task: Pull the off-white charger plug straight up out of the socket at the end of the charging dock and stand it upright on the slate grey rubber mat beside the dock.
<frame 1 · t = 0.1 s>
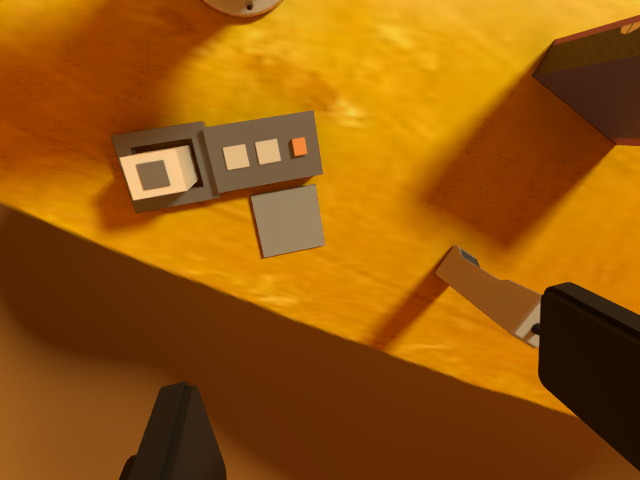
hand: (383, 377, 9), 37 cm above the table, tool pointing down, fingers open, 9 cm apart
vintage mobile phone: (451, 263, 52), on the table
charger plug: (172, 166, 41), resting in charging dock
rubber mat: (288, 220, 45), on the table
cereal box: (586, 95, 48), on the table
charging dock: (172, 166, 41), on the table
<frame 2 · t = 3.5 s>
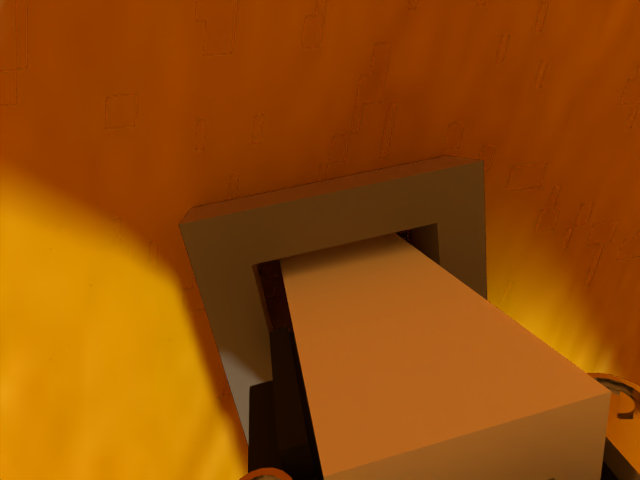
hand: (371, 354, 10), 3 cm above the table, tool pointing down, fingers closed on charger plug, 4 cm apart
charger plug: (347, 308, 13), resting in charging dock, touching gripper
charging dock: (346, 308, 13), on the table
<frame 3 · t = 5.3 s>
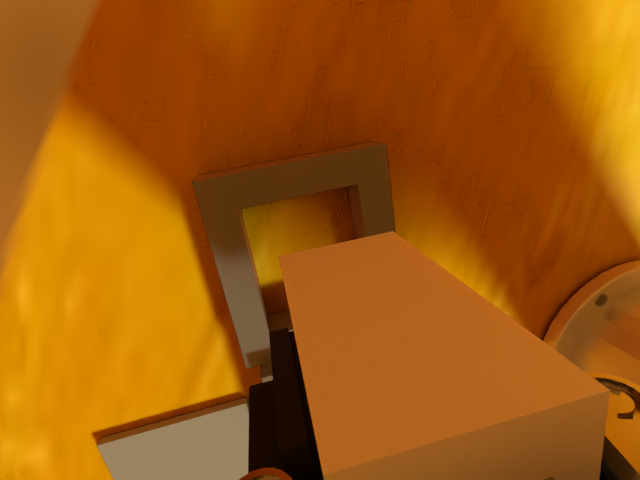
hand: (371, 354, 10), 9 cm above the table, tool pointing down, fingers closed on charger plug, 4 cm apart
charger plug: (347, 307, 13), point 6 cm above the table, touching gripper
rubber mat: (195, 468, 21), on the table
charging dock: (305, 249, 19), on the table
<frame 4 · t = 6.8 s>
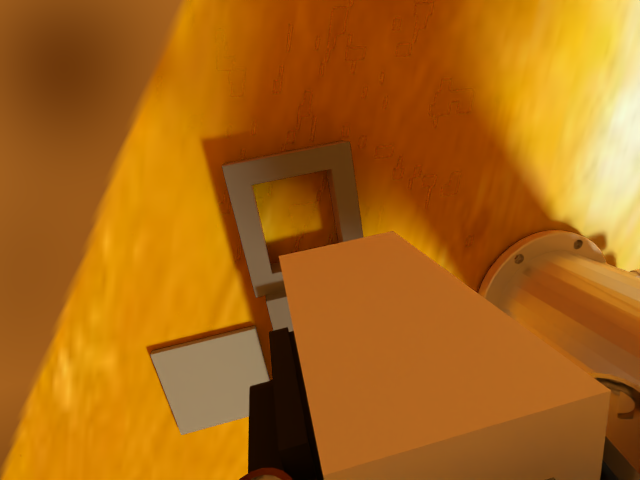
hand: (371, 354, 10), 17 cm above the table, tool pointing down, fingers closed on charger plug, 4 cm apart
charger plug: (347, 307, 13), point 14 cm above the table, touching gripper
rubber mat: (217, 379, 29), on the table
charging dock: (297, 216, 26), on the table
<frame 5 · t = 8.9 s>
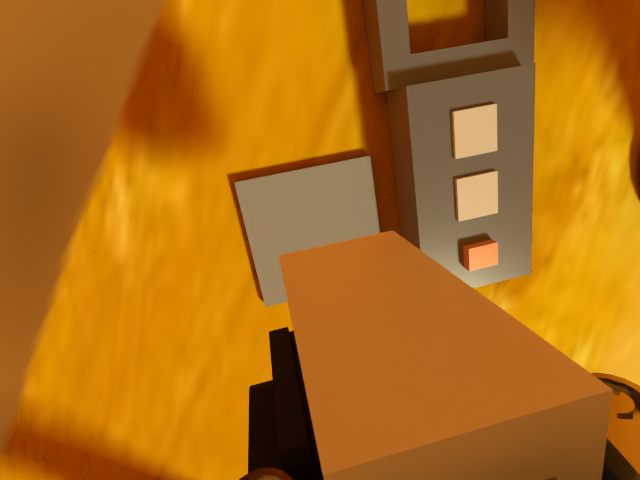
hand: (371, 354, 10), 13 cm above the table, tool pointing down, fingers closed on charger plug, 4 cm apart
charger plug: (347, 307, 13), point 10 cm above the table, touching gripper
rubber mat: (314, 232, 22), on the table
when the fingers open (5 cm above the table, at t = 10.5 s): charger plug drops 1 cm, resting on rubber mat.
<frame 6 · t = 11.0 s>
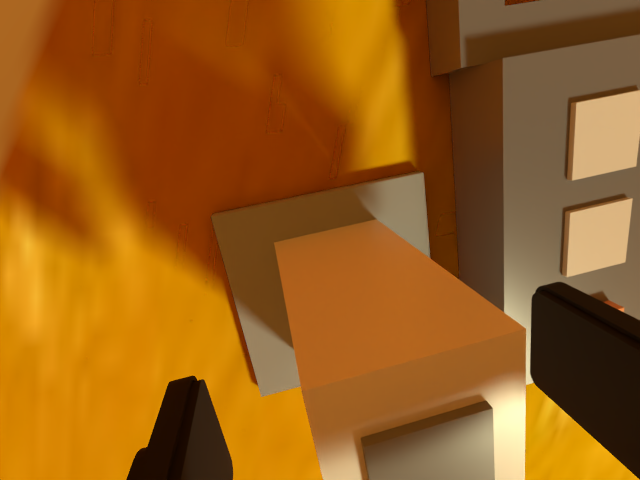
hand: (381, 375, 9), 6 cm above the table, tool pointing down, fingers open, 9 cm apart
charger plug: (336, 289, 14), resting on rubber mat
rubber mat: (335, 285, 15), on the table
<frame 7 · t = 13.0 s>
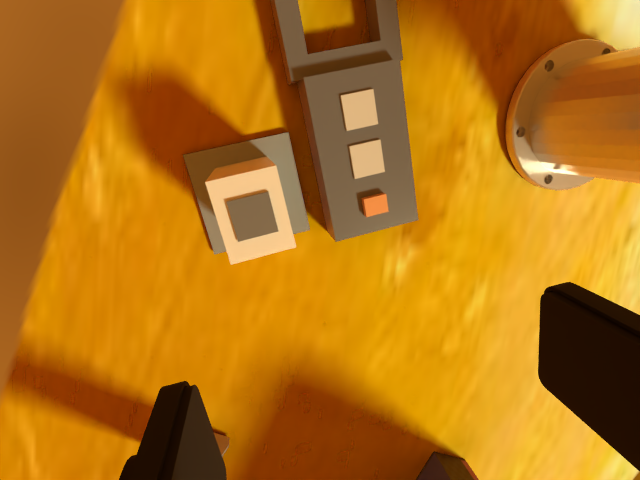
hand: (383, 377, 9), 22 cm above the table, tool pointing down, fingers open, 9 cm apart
charger plug: (249, 193, 28), resting on rubber mat
rubber mat: (250, 193, 29), on the table
charging dock: (329, 4, 26), on the table
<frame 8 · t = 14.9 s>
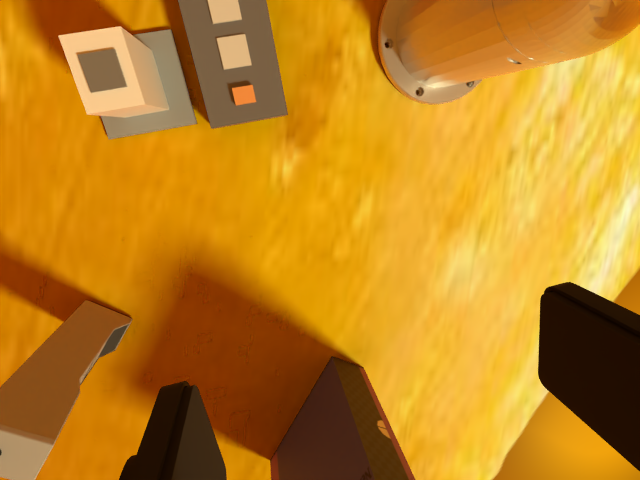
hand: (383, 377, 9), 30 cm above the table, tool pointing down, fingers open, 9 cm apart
vintage mobile phone: (104, 321, 39), on the table
charger plug: (138, 84, 32), resting on rubber mat
rubber mat: (140, 86, 33), on the table
cereal box: (315, 413, 47), on the table
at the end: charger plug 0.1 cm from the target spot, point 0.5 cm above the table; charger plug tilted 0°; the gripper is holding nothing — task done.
